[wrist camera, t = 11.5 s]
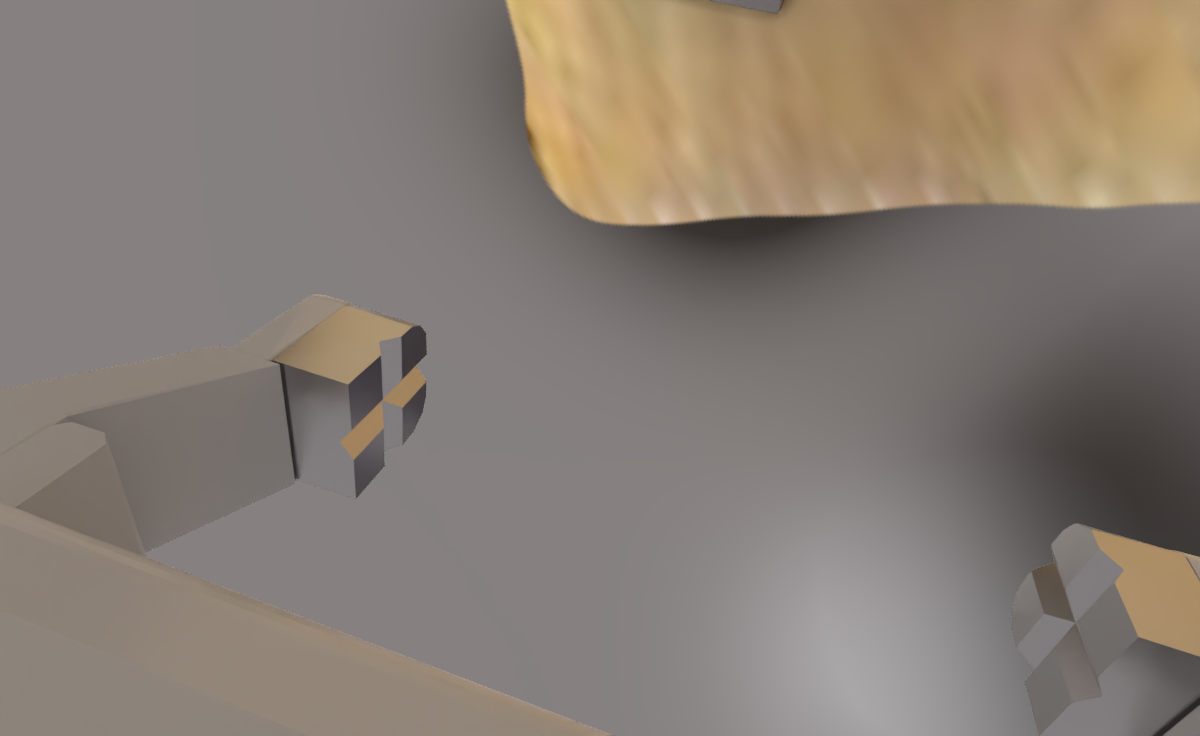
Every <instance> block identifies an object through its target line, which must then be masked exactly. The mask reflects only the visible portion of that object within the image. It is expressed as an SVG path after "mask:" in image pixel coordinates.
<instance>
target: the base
mask: <svg viewBox="0 0 1200 736" xmlns="http://www.w3.org/2000/svg"><path fill="white" fill-rule="evenodd" d="M711 1H716V2H720V3H725V4H730V5H735V6H740V7H745V8H749V9H754V10H759V11H764V12H769V13H774V14H778V13H779V11H780V10H781V8H782V4H783V0H711Z"/></svg>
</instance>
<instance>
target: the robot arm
mask: <svg viewBox="0 0 1200 736" xmlns="http://www.w3.org/2000/svg"><path fill="white" fill-rule="evenodd" d="M426 347H427V346H426V332H425V331H424V330H423V328H422V327H421V326H420V325H417V324H414V323H411V322H408V321H405V320H402V319H399V318H396V317H392V316H389V315H386V314H383V313H380V312H377V311H373V310H370V309H368V308H364V307H362V306H358V305H353V304H351V303H349V302H346V301H342V300H339V299H336V298H332V297H329V296H325V295H310V296H309V297H307V298H306V299H304V300H303V301H301V302H300V303H299V304H297V305H295V306H294V307H293V308H291V309H289V310H288V311H286V312H285V313H284V314H282V315H280V316H279V317H277V318H276V319H274V320H273V321H271V322H270V323H268V324H267V325H265V326H264V327H262V328H261V329H259V330H258V331H256V332H255V333H253V334H252V335H250V336H249V337H247V338H246V339H244V340H243V341H242V342H240V343H238V344H237V345H235V346H234V347H232V348H228V347H224V346H221V345H219V346H213V347H208V348H204V349H198V350H193V351H188V352H184V353H178V354H173V355H168V356H163V357H159V358H154V359H149V360H144V361H138V362H133V363H128V364H124V365H118V366H113V367H109V368H104V369H98V370H93V371H88V372H83V373H78V374H74V375H68V376H64V377H59V378H54V379H49V380H44V381H39V382H34V383H29V384H24V385H19V386H14V387H9V388H4V389H0V736H614V735H611V734H609V733H606V732H603V731H601V730H598V729H595V728H593V727H590V726H587V725H585V724H582V723H580V722H577V721H574V720H572V719H569V718H567V717H564V716H561V715H559V714H556V713H554V712H551V711H548V710H546V709H543V708H540V707H538V706H535V705H532V704H530V703H527V702H525V701H522V700H519V699H517V698H514V697H512V696H509V695H506V694H504V693H501V692H498V691H496V690H493V689H490V688H488V687H485V686H482V685H480V684H477V683H475V682H472V681H470V680H467V679H464V678H462V677H459V676H456V675H454V674H451V673H448V672H446V671H443V670H441V669H438V668H435V667H433V666H430V665H428V664H425V663H422V662H420V661H417V660H414V659H412V658H409V657H407V656H404V655H401V654H399V653H396V652H393V651H391V650H388V649H385V648H383V647H380V646H378V645H375V644H372V643H370V642H367V641H365V640H362V639H359V638H357V637H354V636H351V635H349V634H346V633H343V632H341V631H338V630H336V629H333V628H330V627H328V626H325V625H322V624H320V623H317V622H314V621H312V620H309V619H307V618H304V617H301V616H298V615H296V614H293V613H291V612H288V611H285V610H283V609H280V608H278V607H275V606H272V605H270V604H267V603H264V602H262V601H259V600H257V599H254V598H251V597H249V596H246V595H243V594H241V593H238V592H236V591H233V590H230V589H228V588H225V587H222V586H220V585H217V584H215V583H212V582H209V581H207V580H204V579H201V578H199V577H196V576H193V575H191V574H188V573H186V572H183V571H181V570H178V569H175V568H172V567H170V566H167V565H164V564H162V563H160V562H157V561H154V560H152V559H149V558H147V556H146V554H145V553H146V552H148V551H150V550H152V549H154V548H156V547H158V546H161V545H163V544H165V543H167V542H169V541H172V540H174V539H176V538H178V537H180V536H182V535H185V534H187V533H189V532H191V531H193V530H196V529H198V528H200V527H202V526H204V525H206V524H209V523H211V522H213V521H215V520H217V519H219V518H222V517H223V516H226V515H228V514H230V513H232V512H235V511H237V510H239V509H241V508H243V507H246V506H248V505H250V504H252V503H254V502H256V501H258V500H261V499H263V498H265V497H267V496H269V495H271V494H274V493H276V492H278V491H280V490H282V489H285V488H287V487H289V486H291V485H293V484H295V480H297V481H300V482H303V483H306V484H310V485H313V486H316V487H319V488H322V489H325V490H329V491H332V492H335V493H338V494H341V495H345V496H347V497H351V498H354V499H356V498H357V497H358V496H359V495H360V494H361V493H362V491H363V490H364V489H365V488H366V487H367V486H368V485H369V484H370V482H371V481H372V480H373V479H374V478H375V477H376V475H377V474H378V473H379V472H380V471H381V470H382V469H383V467H384V466H385V465H384V464H385V463H384V452H385V451H387V450H390V449H393V448H396V447H399V446H401V445H403V444H404V443H405V441H406V440H407V439H408V438H409V436H410V435H411V434H412V433H413V432H414V430H415V428H416V425H417V423H418V421H419V419H420V417H421V415H422V412H423V408H424V403H425V398H426V380H425V378H424V377H423V375H422V374H421V372H420V370H419V369H418V367H417V364H418V363H419V362H420V361H421V360H422V359H423V358H424V357H425V356H426V354H427V350H426V349H427V348H426ZM1051 548H1052V553H1053V557H1054V561H1055V562H1054V563H1051V564H1048V565H1046V566H1043V567H1040V568H1037V569H1034V570H1032V571H1031V572H1030V573H1029V574H1028V576H1027V577H1026V579H1025V580H1024V581H1023V583H1022V584H1021V586H1020V587H1019V588H1018V590H1017V594H1016V597H1015V601H1014V604H1013V608H1012V633H1013V637H1014V641H1015V645H1016V648H1017V649H1018V650H1019V652H1020V653H1021V654H1022V655H1023V656H1024V657H1025V659H1026V660H1027V661H1028V662H1029V663H1030V665H1031V666H1032V667H1033V668H1034V670H1033V672H1032V673H1031V674H1030V675H1029V677H1028V678H1027V679H1026V681H1025V685H1026V688H1027V692H1028V695H1029V699H1030V703H1031V707H1032V711H1033V715H1034V718H1035V722H1036V726H1037V730H1038V733H1039V736H1200V557H1197V556H1193V555H1190V554H1186V553H1182V552H1178V551H1175V550H1171V551H1170V550H1167V549H1163V548H1160V547H1156V546H1153V545H1150V544H1146V543H1143V542H1139V541H1136V540H1132V539H1129V538H1125V537H1122V536H1119V535H1115V534H1112V533H1108V532H1105V531H1101V530H1098V529H1094V528H1091V527H1088V526H1084V525H1080V524H1077V523H1076V524H1074V525H1072V526H1070V527H1069V528H1067V529H1065V530H1063V531H1062V532H1061V534H1060V535H1059V536H1058V537H1057V538H1056V540H1055V541H1054V542H1053V543H1052V545H1051Z"/></svg>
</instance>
